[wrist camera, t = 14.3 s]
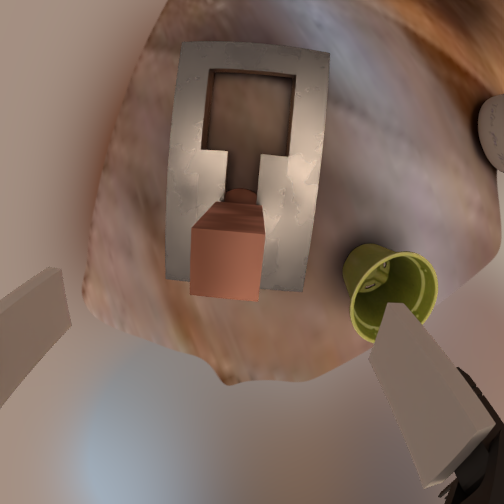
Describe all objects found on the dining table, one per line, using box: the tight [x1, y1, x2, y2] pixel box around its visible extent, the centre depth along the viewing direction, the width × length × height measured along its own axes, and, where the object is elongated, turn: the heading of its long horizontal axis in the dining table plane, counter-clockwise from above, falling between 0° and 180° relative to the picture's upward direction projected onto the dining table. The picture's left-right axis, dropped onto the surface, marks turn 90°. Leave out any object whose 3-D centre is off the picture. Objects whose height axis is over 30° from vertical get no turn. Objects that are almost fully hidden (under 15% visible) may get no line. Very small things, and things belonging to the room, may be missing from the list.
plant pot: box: [343, 244, 438, 343], centre depth 28 cm, size 9×9×9 cm
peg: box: [190, 188, 266, 301], centre depth 23 cm, size 6×6×15 cm
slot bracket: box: [165, 41, 330, 292], centre depth 27 cm, size 14×24×3 cm, turn 175°
